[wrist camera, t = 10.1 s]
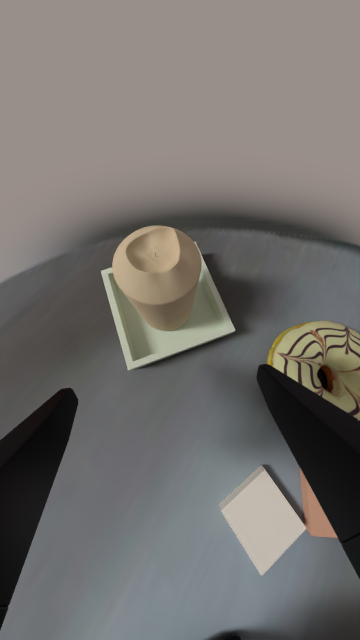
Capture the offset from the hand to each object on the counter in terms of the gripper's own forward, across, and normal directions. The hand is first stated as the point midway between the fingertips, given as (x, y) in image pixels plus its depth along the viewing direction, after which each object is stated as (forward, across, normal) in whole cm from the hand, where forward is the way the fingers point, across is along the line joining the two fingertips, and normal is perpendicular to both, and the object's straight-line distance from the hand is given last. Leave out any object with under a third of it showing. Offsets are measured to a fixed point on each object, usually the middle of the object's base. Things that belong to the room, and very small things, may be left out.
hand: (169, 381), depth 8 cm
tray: (+12, 0, +2) cm, 12 cm away
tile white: (-1, -6, +16) cm, 17 cm away
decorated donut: (+6, -14, +8) cm, 17 cm away
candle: (+12, 0, +2) cm, 12 cm away
